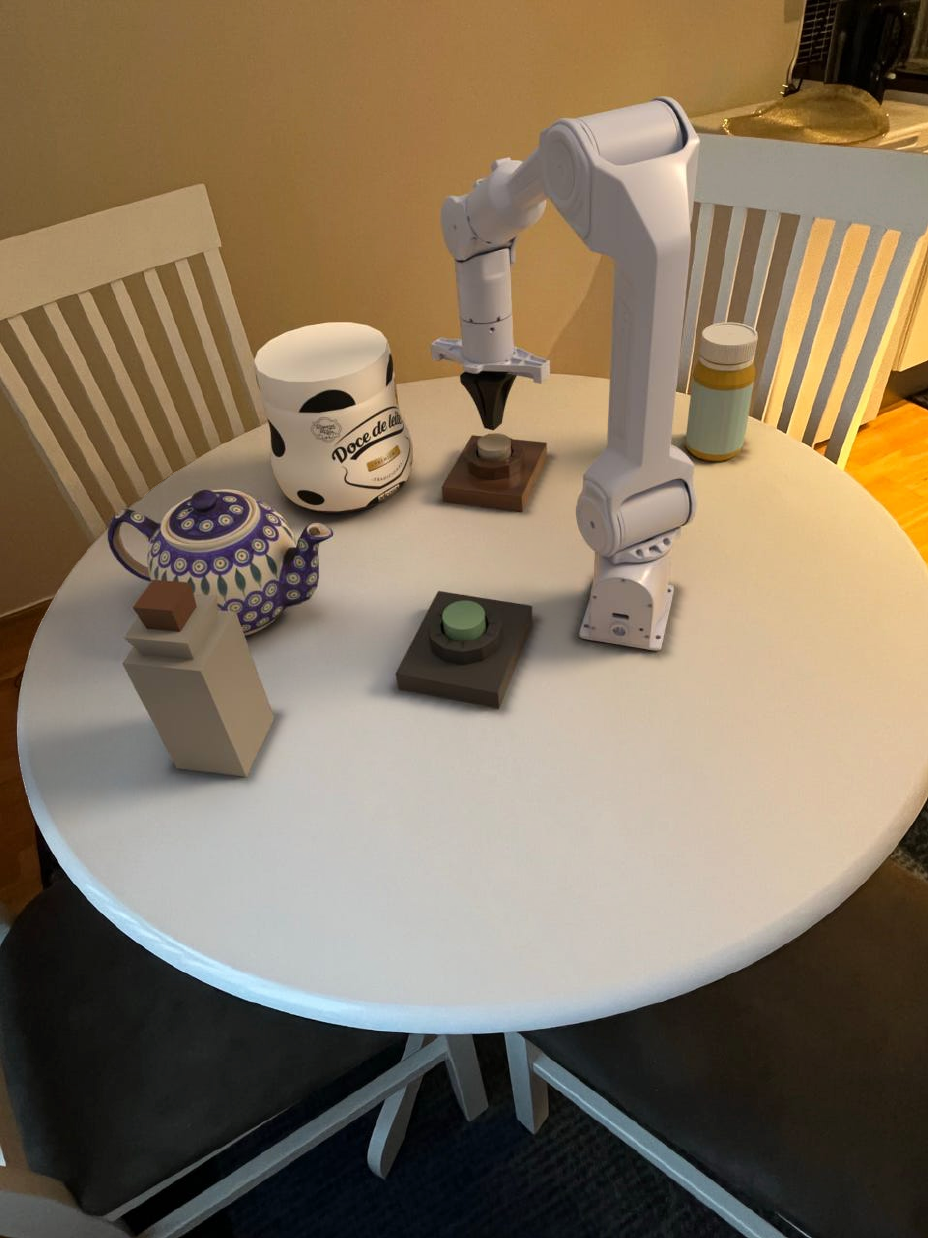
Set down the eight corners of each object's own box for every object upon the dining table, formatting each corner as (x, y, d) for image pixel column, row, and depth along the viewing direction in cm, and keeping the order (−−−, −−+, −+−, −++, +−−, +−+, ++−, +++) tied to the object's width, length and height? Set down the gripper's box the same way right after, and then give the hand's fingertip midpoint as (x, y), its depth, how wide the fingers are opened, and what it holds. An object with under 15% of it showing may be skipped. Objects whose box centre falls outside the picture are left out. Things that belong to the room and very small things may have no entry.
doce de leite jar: (404, 526, 98) (382, 385, 86) (264, 526, 100) (222, 388, 88) (426, 448, 110) (409, 315, 98) (300, 449, 113) (268, 319, 101)
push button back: (522, 511, 98) (521, 483, 95) (442, 501, 101) (439, 473, 98) (547, 457, 106) (546, 429, 104) (472, 449, 109) (470, 422, 106)
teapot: (103, 641, 87) (44, 528, 77) (173, 553, 98) (128, 443, 88) (324, 671, 81) (290, 552, 71) (373, 573, 92) (349, 458, 82)
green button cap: (478, 645, 77) (477, 632, 76) (438, 638, 78) (436, 625, 77) (491, 617, 80) (489, 603, 79) (451, 610, 81) (450, 597, 80)
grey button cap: (506, 464, 99) (505, 452, 98) (474, 461, 100) (473, 448, 99) (515, 447, 102) (514, 434, 101) (484, 444, 103) (483, 431, 102)
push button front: (499, 708, 76) (496, 679, 73) (398, 689, 79) (392, 659, 76) (532, 621, 84) (531, 591, 82) (440, 606, 87) (436, 577, 84)
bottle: (748, 461, 102) (768, 344, 92) (690, 464, 102) (704, 349, 92) (735, 432, 107) (753, 318, 97) (680, 435, 108) (693, 322, 97)
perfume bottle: (246, 777, 73) (182, 628, 61) (176, 768, 74) (100, 621, 62) (274, 718, 78) (220, 569, 65) (208, 710, 79) (143, 563, 67)
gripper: (409, 316, 90) (423, 427, 99) (525, 339, 84) (529, 456, 93) (446, 292, 94) (456, 401, 104) (559, 312, 88) (559, 426, 97)
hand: (493, 425), depth 99 cm, fingers closed
